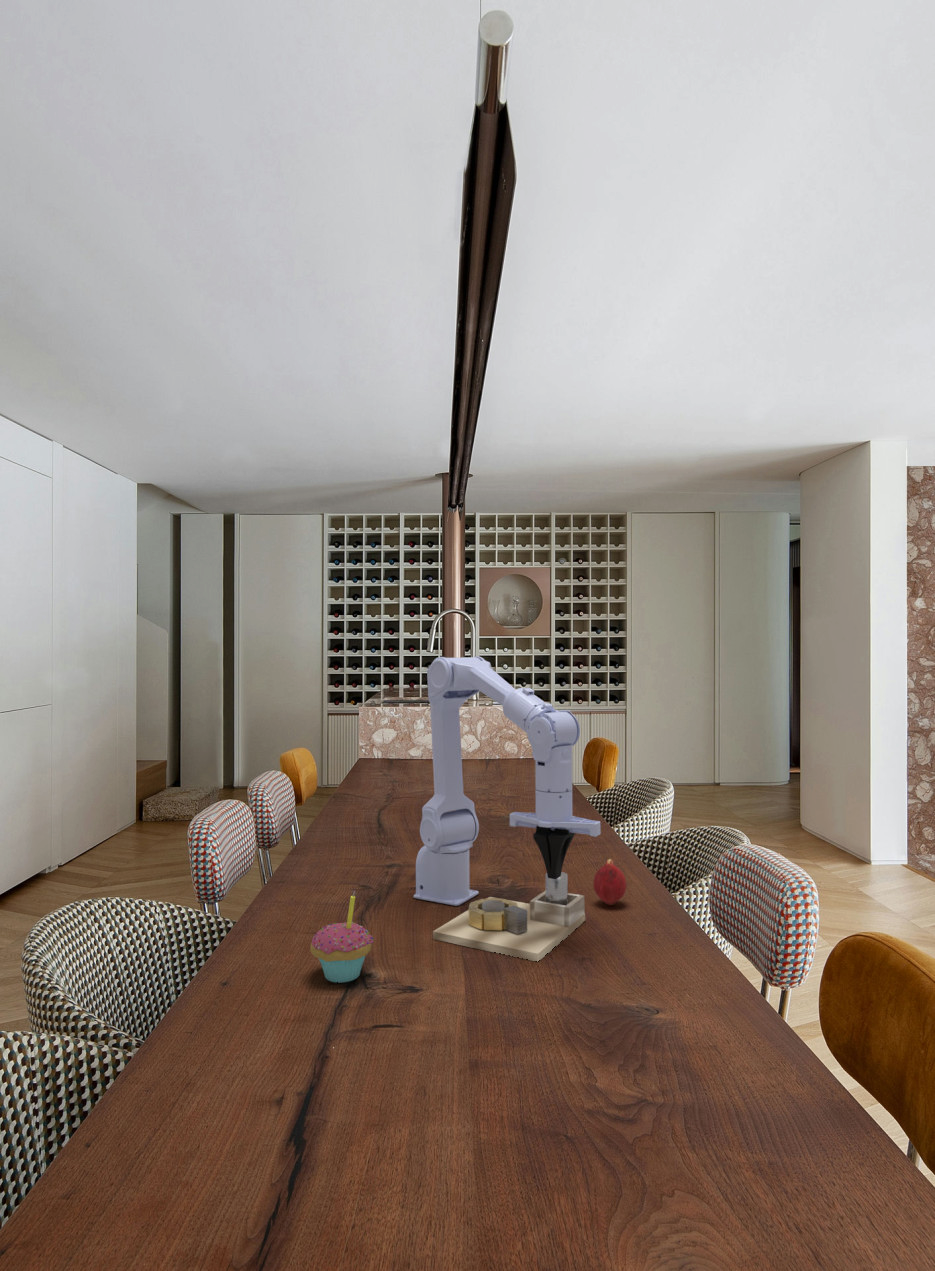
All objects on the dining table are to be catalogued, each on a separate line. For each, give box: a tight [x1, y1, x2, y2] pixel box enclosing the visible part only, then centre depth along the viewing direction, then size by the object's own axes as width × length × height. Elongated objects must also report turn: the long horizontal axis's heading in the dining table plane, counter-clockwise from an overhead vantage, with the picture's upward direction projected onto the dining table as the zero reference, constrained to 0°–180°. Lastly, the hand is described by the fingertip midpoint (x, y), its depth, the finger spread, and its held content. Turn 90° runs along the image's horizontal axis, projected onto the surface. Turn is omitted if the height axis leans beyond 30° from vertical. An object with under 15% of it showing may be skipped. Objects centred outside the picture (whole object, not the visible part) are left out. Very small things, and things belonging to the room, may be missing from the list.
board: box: [432, 889, 586, 963], centre depth 124 cm, size 18×19×4 cm
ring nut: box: [468, 897, 527, 934], centre depth 123 cm, size 8×10×3 cm
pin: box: [545, 871, 569, 906], centre depth 126 cm, size 4×4×7 cm
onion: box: [592, 858, 627, 906], centre depth 135 cm, size 6×6×8 cm
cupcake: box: [309, 890, 374, 984], centre depth 107 cm, size 9×8×12 cm
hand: (554, 877), depth 119 cm, fingers closed
